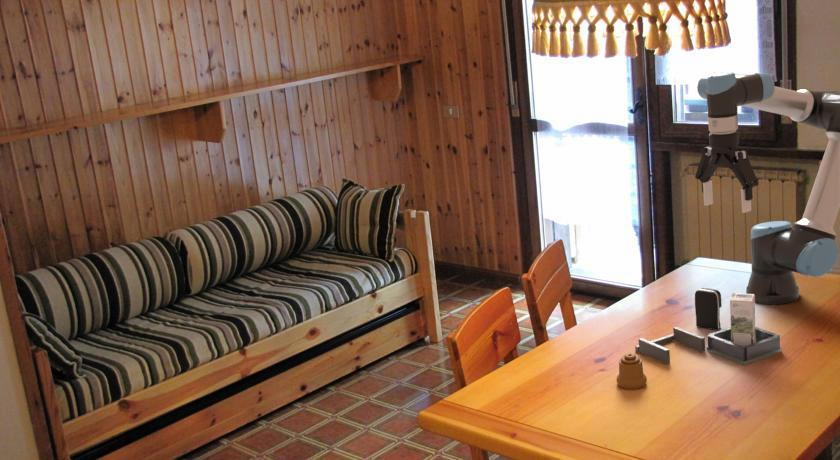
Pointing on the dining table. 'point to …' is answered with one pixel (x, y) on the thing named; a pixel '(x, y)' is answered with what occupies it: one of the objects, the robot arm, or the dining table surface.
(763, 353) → the square tray
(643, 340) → the grey u-shaped bracket
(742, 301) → the syrup box
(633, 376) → the ornamental finial
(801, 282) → the dining table surface
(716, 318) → the black rounded block
